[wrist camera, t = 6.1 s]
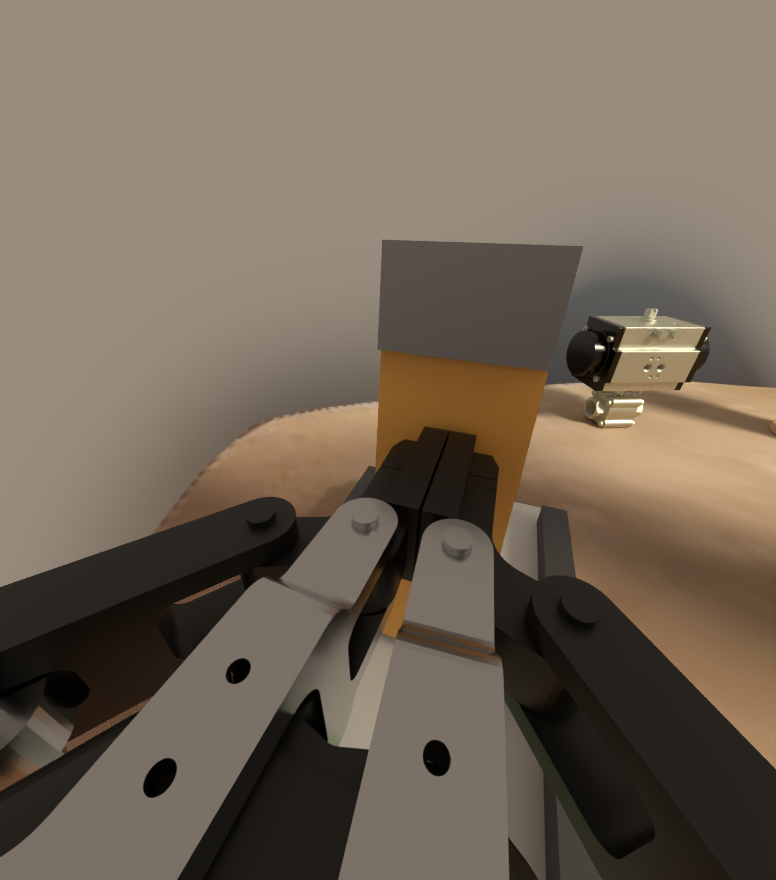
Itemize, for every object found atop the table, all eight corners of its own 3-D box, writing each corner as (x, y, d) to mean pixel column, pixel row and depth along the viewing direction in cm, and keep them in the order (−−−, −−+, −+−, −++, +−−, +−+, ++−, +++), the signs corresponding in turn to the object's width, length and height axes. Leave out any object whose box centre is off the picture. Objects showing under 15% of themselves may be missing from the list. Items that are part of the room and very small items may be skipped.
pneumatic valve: (547, 412, 40) (579, 304, 34) (640, 411, 41) (689, 304, 35) (572, 437, 35) (615, 316, 29) (678, 434, 36) (741, 316, 30)
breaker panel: (644, 1432, 6) (791, 1671, 4) (83, 951, 10) (4, 938, 8) (558, 534, 24) (575, 490, 22) (370, 488, 28) (370, 446, 25)
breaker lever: (472, 684, 13) (594, 246, 7) (360, 641, 15) (374, 239, 8) (480, 620, 16) (573, 257, 10) (384, 588, 17) (408, 250, 11)
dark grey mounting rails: (636, 1248, 6) (671, 1281, 6) (119, 868, 10) (99, 858, 9) (560, 527, 22) (566, 511, 21) (369, 481, 25) (369, 465, 24)
